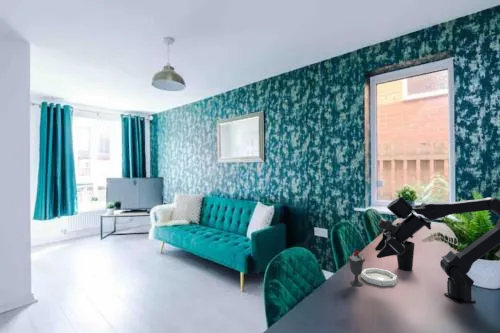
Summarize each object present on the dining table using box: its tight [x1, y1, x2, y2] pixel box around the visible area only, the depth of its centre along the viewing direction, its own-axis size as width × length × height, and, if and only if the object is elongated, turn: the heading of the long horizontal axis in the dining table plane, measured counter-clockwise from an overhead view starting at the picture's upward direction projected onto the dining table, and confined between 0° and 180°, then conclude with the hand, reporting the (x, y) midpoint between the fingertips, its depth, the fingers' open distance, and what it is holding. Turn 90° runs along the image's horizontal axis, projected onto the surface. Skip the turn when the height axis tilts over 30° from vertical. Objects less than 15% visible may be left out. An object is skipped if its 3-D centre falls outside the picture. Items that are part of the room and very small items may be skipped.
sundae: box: [347, 247, 366, 287], centre depth 106 cm, size 7×7×15 cm
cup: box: [396, 240, 415, 272], centre depth 121 cm, size 8×8×12 cm
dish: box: [360, 267, 398, 287], centre depth 110 cm, size 13×13×2 cm
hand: (376, 253), depth 103 cm, fingers open, 9 cm apart
